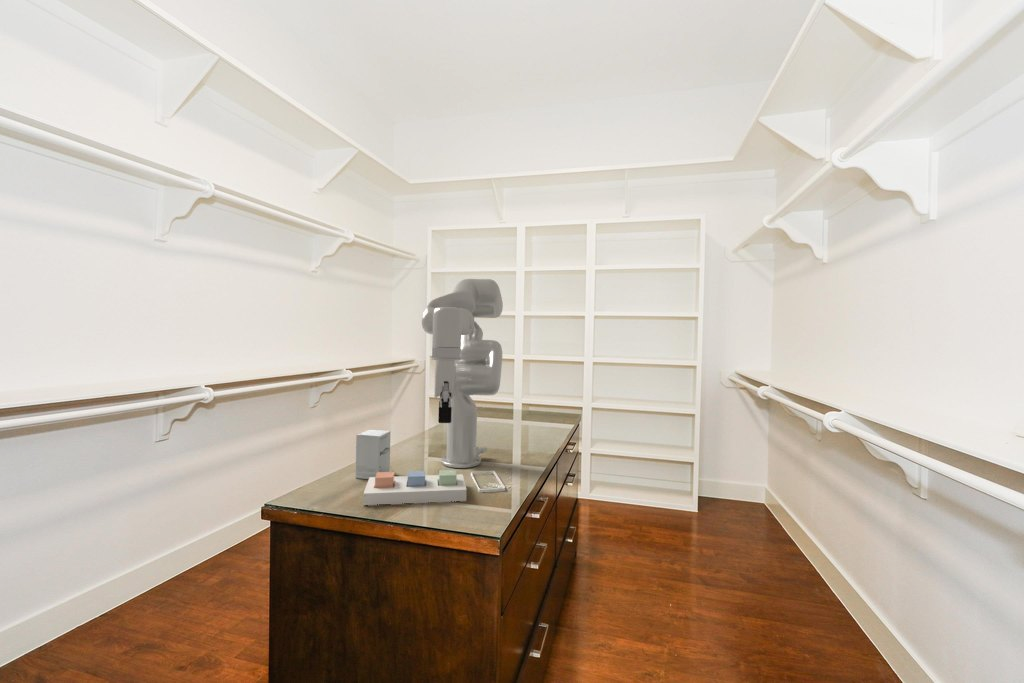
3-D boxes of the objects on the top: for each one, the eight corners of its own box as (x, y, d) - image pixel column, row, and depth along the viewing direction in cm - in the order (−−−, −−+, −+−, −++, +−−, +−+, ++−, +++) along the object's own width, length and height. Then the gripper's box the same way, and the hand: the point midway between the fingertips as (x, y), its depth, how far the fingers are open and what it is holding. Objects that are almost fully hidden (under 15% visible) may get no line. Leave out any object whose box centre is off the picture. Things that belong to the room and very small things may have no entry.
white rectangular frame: (505, 492, 126) (494, 475, 140) (505, 487, 126) (494, 470, 140) (478, 494, 124) (470, 476, 139) (478, 489, 124) (470, 471, 139)
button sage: (455, 481, 125) (455, 469, 125) (456, 487, 121) (456, 475, 121) (438, 482, 125) (438, 470, 125) (439, 487, 120) (439, 475, 120)
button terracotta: (394, 483, 123) (394, 471, 122) (392, 489, 118) (393, 477, 118) (376, 484, 122) (376, 472, 122) (375, 490, 117) (375, 477, 117)
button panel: (462, 484, 130) (462, 474, 130) (466, 501, 118) (466, 489, 118) (369, 488, 125) (369, 477, 125) (363, 505, 113) (363, 493, 113)
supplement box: (378, 480, 131) (379, 436, 131) (354, 478, 133) (355, 434, 132) (390, 472, 139) (391, 430, 138) (367, 470, 140) (368, 428, 140)
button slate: (425, 482, 124) (425, 470, 124) (425, 488, 120) (425, 476, 120) (408, 483, 123) (408, 471, 123) (407, 489, 119) (407, 476, 119)
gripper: (432, 352, 130) (431, 413, 130) (431, 355, 113) (429, 425, 113) (459, 353, 131) (458, 413, 131) (462, 356, 114) (460, 425, 114)
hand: (444, 419), depth 122 cm, fingers open, 9 cm apart
